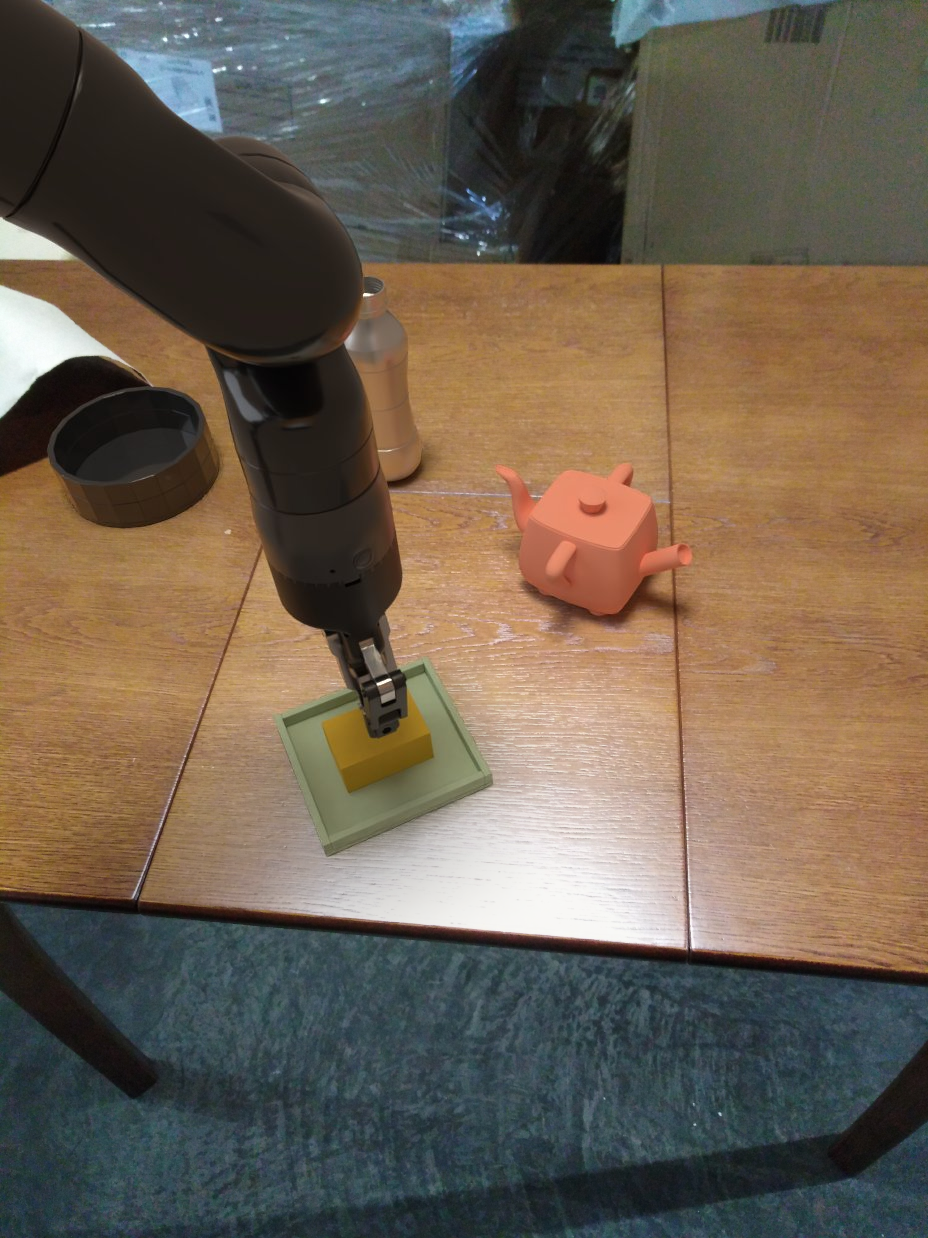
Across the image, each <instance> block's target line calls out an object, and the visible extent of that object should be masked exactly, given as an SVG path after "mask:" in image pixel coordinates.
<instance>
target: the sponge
mask: <svg viewBox="0 0 928 1238" xmlns="http://www.w3.org/2000/svg"><path fill="white" fill-rule="evenodd" d="M407 705H408V716H407V717H405V718H403V719H399V724H400V725H399V727H398V728H397V731H395V732H393V733H391V734H388V735H386V736H383V737H381V738H378V739H377V738H371V737H370V736H369V734H368V731H367V729H366V726H365V722H364V718H363V714H362V710H361V711H360V710H359V708H356V709H354V710H351V711H349V712H346V713H344V714H341V715H339V716H336V717H334V718H331V719H329V720H326V721H324V722H321V724H322V727H323V730H324V733H325V736H326V740H327V743H328V746H329V749H330V751H331V753H332V756H333V758H334V760H335V763H336V765H337V768H338V770H339V772H340V775H341V777H342V780H343V782H344V784H345V787H346V789H347V791H348V793H350V792H352V791H355V790H357V789H360V788H362V787H364V786H367V785H369V784H372V783H374V782H376V781H379V780H381V779H383V778H386V777H388V776H391V775H393V774H395V773H398V772H400V771H402V770H405V769H407V768H410V767H412V766H414V765H417V764H419V763H421V762H424V761H426V760H429V759H431V758H433V757H434V753H433V747H432V740H431V734H430V731H429V729H428V727H427V725H426V723H425V721H424V719H423V717H422V715H421V713H420V711H419V709H418V708H417V706H416V704H415V702H414V700H413V698H412V696H411V694H410V692H409V690H408V688H407Z"/></svg>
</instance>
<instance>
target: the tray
mask: <svg viewBox="0 0 928 1238" xmlns="http://www.w3.org/2000/svg"><path fill="white" fill-rule="evenodd" d="M397 669H400V670H401V672H402V674H403V673H404V674H405V676H406V679H407V681H406V685H407V688H408V690H409V692H410V694H411V696H412V698H413V700H414V702H415V704H416V706H417V708H418V709H419V711H420V713H421V715H422V717H423V719H424V721H425V723H426V725H427V727H428V729H429V731H430V734H431V740H432V747H433V753H434V757H433V758H431V759H429V760H426V761H424V762H421V763H419V764H417V765H414V766H412V767H410V768H407V769H405V770H402V771H400V772H398V773H395V774H393V775H391V776H388V777H386V778H383V779H381V780H379V781H376V782H374V783H372V784H369V785H367V786H364V787H362V788H360V789H357V790H355V791H352V792H350V793H348V791H347V789H346V787H345V784H344V782H343V780H342V777H341V775H340V772H339V770H338V768H337V765H336V763H335V760H334V758H333V756H332V753H331V751H330V749H329V746H328V743H327V740H326V736H325V733H324V730H323V727H322V724H321V722H324V721H326V720H329V719H331V718H334V717H336V716H339V715H341V714H344V713H346V712H349V711H351V710H354V709H356V708H358V705H357V704H358V703H359V702H358V699H357V696H356V693H355V691H354V690H350V689H348V688H347V687H345V688H342V689H339V690H337V691H334V692H331V693H329V694H327V695H324V696H321V697H318V698H316V699H314V700H311V701H309V702H306V703H303V704H301V705H299V706H296V707H293V708H291V709H288V710H285V711H283V712H281V713H278V714H275V715H273V720H274V722H275V725H276V728H277V730H278V734H279V736H280V738H281V741H282V744H283V746H284V748H285V751H286V754H287V757H288V759H289V762H290V765H291V767H292V770H293V772H294V775H295V777H296V780H297V783H298V786H299V788H300V791H301V793H302V796H303V799H304V802H305V804H306V807H307V809H308V811H309V815H310V818H311V820H312V822H313V826H314V827H315V830H316V833H317V836H318V838H319V840H320V843H321V846H322V849H323V851H324V854H325V856H326V857H329V856H332V855H335V854H336V853H339V852H340V851H343V850H345V849H348V848H351V847H353V846H355V845H356V844H359V843H363V842H364V841H366V840H368V839H371V838H373V837H375V836H377V835H380V834H381V833H382V834H383V833H385V832H387V831H389V830H391V829H394V828H396V827H398V826H401V825H403V824H405V823H407V822H410V821H412V820H414V819H417V818H419V817H422V816H424V815H426V814H428V813H431V812H433V811H434V810H437V809H439V808H441V807H444V806H447V805H448V804H449V805H450V804H451V803H454V802H455V801H458V800H460V799H462V798H464V797H465V798H466V797H467V796H469V795H472V794H474V793H476V792H479V791H481V790H483V789H485V788H488V787H490V786H492V785H493V772H492V770H491V769H490V767H489V765H488V763H487V761H486V760H485V758H484V756H483V755H482V753H481V751H480V748H479V747H478V745H477V743H476V742H475V740H474V738H473V736H472V734H471V732H470V730H469V729H468V727H467V725H466V723H465V721H464V720H463V718H462V716H461V714H460V712H459V711H458V708H457V707H456V705H455V704H454V701H453V699H452V698H451V696H450V694H449V692H448V691H447V688H446V687H445V685H444V683H443V681H442V679H441V677H440V675H439V674H438V672H437V671H436V668H435V667H434V665H433V663H432V661H431V658H430V657H429V656H428V655H426V656H423V657H421V658H418V659H416V660H414V661H413V660H412V661H410V662H408V663H406V664H403V665H401V666H397Z"/></svg>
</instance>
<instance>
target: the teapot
mask: <svg viewBox="0 0 928 1238" xmlns="http://www.w3.org/2000/svg"><path fill="white" fill-rule="evenodd" d="M494 470H495V471H496V473H497V474H498V475H499V476H500V477H501V478H502V479H503V480H504V482H505V483H506V484H507V485H506V486H508V489H509V492H510V496H511V504H512V512H513V518H514V522H515V524H516V527H517V528H518V529H519V531H520V532H521V533H522V537H521V542H520V546H519V553H518V566H519V570H520V572H521V575H522V577H523V578H524V579H525V581H526V582H527V583H529V584H530V585H532V586H534V587H535V588H537V590H538V592H539V593H541V594H542V595H544V596H553V597H555V598H557V599H559V600H561V601H563V602H566V603H568V604H571V605H575V606H577V607H580V608H584V609H587V610H588V612H589V613H590V614H591V615H595V616H598V617H602V616H603V617H604V616H606V615H608V614H609V615H615V614H618V613H619V612H620V611H622V610H623V608H624V607H625V605H626V604H627V603H628V602H629V600H630V598H632V596H633V595H634V593H635V592H636V590H637V588H638V587H639V585H640V584H641V583H642V581H643V580H644V578H645V577H647V576H651V575H656V574H659V573H662V572H667V571H671V570H674V569H679V568H683V567H687V566H689V565H691V564H692V561H693V552H692V550H691V548H690V546H689V545H688V544H687V543H685V542H680V543H677V544H674V545H671V546H667V547H663V548H660V549H658V544H659V542H658V541H659V527H658V518H657V513H656V508H655V503H654V500H653V499H652V497H650V496H649V495H647V494H645V493H643V492H641V491H639V490H637V489H635V488H633V487H631V486H632V482H633V478H634V473H635V472H634V471H635V470H634V467H633V466H632V465H631V464H630V463H627V462H623V463H620V464H618V465H616V467H615V468H614V469H613V470H612V471H611V473H610V474H609V475H608V476H607V477H603V476H600V475H596V474H593V473H588V472H585V471H584V472H583V471H579V470H573V469H566V470H564V471H563V472H561V473H560V475H558V476H557V477H556V479H555V480H554V481H553V482H552V484H551V485H550V486H549V487H548V489H547V490H546V491H545V493H544V494H543V495H542V496H541V497H540V499H539V500H538V502H537V503H536V501H535V500H534V499H533V497H532V496H531V494H530V492H529V490H528V488H527V486H526V484H525V481H524V480H523V478H522V477H521V476H520V475H519V473H517V471H515V470H513V469H511V468H510V467H508V466H506V465H501V464H496V465H495V466H494Z"/></svg>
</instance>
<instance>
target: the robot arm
mask: <svg viewBox="0 0 928 1238" xmlns="http://www.w3.org/2000/svg"><path fill="white" fill-rule="evenodd" d="M0 218H1V219H2V220H3V221H5V222H7V223H10V224H11V225H14V226H16V227H18V228H21V229H23V230H24V231H28V232H30V233H33V234H35V235H38V236H39V237H42V238H44V239H46V240H48V241H49V242H51V243H53V244H55V245H56V246H58V247H59V248H61V249H63V250H64V251H66V252H67V253H68V254H70V255H71V256H73V257H74V258H76V260H79V261H80V262H81V263H83V264H84V265H85V266H87V267H88V268H89V269H90V270H92V271H93V272H94V273H95V274H97V275H99V277H101V278H102V279H104V280H105V281H107V282H108V283H109V284H110V285H112V286H113V287H115V288H117V289H118V290H119V291H121V292H122V293H124V294H125V295H127V296H128V297H130V298H131V299H132V300H134V301H136V303H139V304H140V305H142V306H143V307H144V308H146V309H147V310H149V311H150V312H151V313H153V314H154V315H156V316H157V317H159V318H160V319H162V320H163V321H164V322H167V323H168V324H169V325H171V326H172V327H174V328H176V329H177V330H179V331H180V332H182V333H183V334H185V335H186V336H189V337H190V338H191V339H193V340H195V341H197V342H198V343H200V344H202V345H204V348H205V350H206V353H207V357H208V358H209V360H210V362H211V365H212V368H213V370H214V373H215V375H216V378H217V381H218V384H219V387H220V390H221V394H222V398H223V402H224V407H225V411H226V415H227V420H228V425H229V430H230V434H231V438H232V442H233V445H234V449H235V452H236V454H237V457H238V462H239V465H240V467H241V469H242V473H243V476H244V479H245V483H246V486H247V488H248V493H249V498H250V507H251V512H252V518H253V521H254V525H255V528H256V531H257V534H258V537H259V541H260V543H261V546H262V549H263V553H264V557H265V558H266V562H267V565H268V568H269V571H270V573H271V577H272V580H273V583H274V586H275V588H276V592H277V595H278V598H279V601H280V603H281V605H282V606H283V608H284V610H285V611H286V612H287V614H289V616H291V617H292V618H293V619H294V620H296V621H297V622H299V623H301V624H302V625H305V626H307V627H310V628H313V629H317V630H320V632H321V635H322V637H323V638H324V640H325V643H326V646H327V647H328V649H329V652H330V654H332V656H334V658H335V660H336V661H335V662H336V664H337V666H338V669H339V673H340V675H341V676H340V677H341V678H342V680H343V682H344V684H345V686H346V688H348V689H350V690H354V691H355V693H356V696H357V699H358V702H359V703H358V704H357V705H358V708H359V710H360V711H361V710H362V714H363V718H364V722H365V726H366V729H367V731H368V734H369V736H370V737H371V738H377V739H378V738H381V737H383V736H386V735H388V734H391V733H393V732H395V731H397V728H398V727H399V725H400V724H399V719H403V718H405V717H407V716H408V705H407V685H406V681H407V679H406V676H405V674H404V673H403V674H402V672H401V670H400V669H397V668H398V665H397V662H396V659H395V655H394V652H393V649H392V646H391V641H390V635H391V632H392V631H391V627H390V624H389V620H388V617H387V614H386V612H387V610H388V609H389V608H390V607H391V606H392V604H393V603H394V602H395V601H396V599H397V597H398V595H399V593H400V590H401V587H402V585H403V578H404V577H403V566H402V560H401V555H400V547H399V542H398V537H397V536H398V535H397V529H396V524H395V523H396V522H395V519H394V512H393V506H392V499H391V493H390V490H389V485H388V481H386V479H385V476H384V473H383V470H382V467H381V464H380V460H379V454H378V448H377V442H376V436H375V431H374V425H373V419H372V414H371V409H370V404H369V400H368V396H367V393H366V390H365V387H364V384H363V382H362V379H361V377H360V375H359V373H358V371H357V369H356V367H355V365H354V363H353V361H352V359H351V357H350V356H349V354H348V351H347V349H346V347H345V344H344V342H345V340H346V339H347V338H348V337H349V335H350V334H351V332H352V331H353V329H354V327H355V325H356V323H357V321H358V318H359V315H360V312H361V308H362V304H363V296H364V281H363V276H364V273H363V266H362V263H361V259H360V256H359V254H358V250H357V248H356V245H355V243H354V241H353V239H352V237H351V235H350V233H349V231H348V230H347V228H346V227H345V225H344V224H343V222H342V221H341V220H340V218H339V217H338V216H337V214H336V213H335V212H334V210H333V209H332V207H331V206H330V204H329V203H328V202H327V201H326V199H325V198H324V197H323V195H322V194H321V193H320V191H319V189H318V188H317V186H316V185H315V184H314V183H313V182H312V180H311V179H310V178H309V177H308V175H307V174H306V172H305V171H304V169H302V168H301V166H300V165H298V163H296V162H295V161H294V160H293V159H292V158H291V157H290V156H288V155H287V154H286V153H284V152H283V151H281V150H280V149H278V148H276V147H275V146H273V145H271V144H269V143H267V142H264V141H263V140H259V139H256V138H253V137H248V136H238V135H237V136H236V135H234V136H233V135H230V136H222V137H218V138H215V139H213V138H211V137H210V136H208V135H207V134H205V133H204V132H202V131H201V130H199V129H198V128H196V127H195V126H193V125H192V124H190V123H188V121H186V120H184V118H182V117H181V116H180V115H178V114H176V113H175V112H174V111H173V110H172V109H171V108H170V107H168V105H167V104H165V102H164V101H163V100H162V99H161V98H160V97H159V96H158V94H156V93H155V91H154V90H153V89H152V88H151V87H150V85H148V83H147V82H146V80H144V78H142V76H141V75H140V74H139V73H138V71H137V70H136V69H134V68H133V67H132V66H131V65H130V64H129V63H127V61H125V60H124V59H123V58H122V57H121V56H119V54H118V53H116V52H115V51H114V50H112V49H111V48H110V47H109V46H107V45H106V44H105V43H103V42H102V41H101V40H100V39H98V38H97V37H96V36H95V35H93V34H92V33H90V32H88V31H87V30H85V29H84V28H83V27H82V26H78V25H77V24H76V23H75V22H74V21H73V20H72V19H70V18H68V17H67V16H65V15H64V14H63V13H61V12H60V11H58V10H56V9H55V8H54V7H52V6H50V5H49V4H48V3H46V2H45V1H44V0H0Z"/></svg>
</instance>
